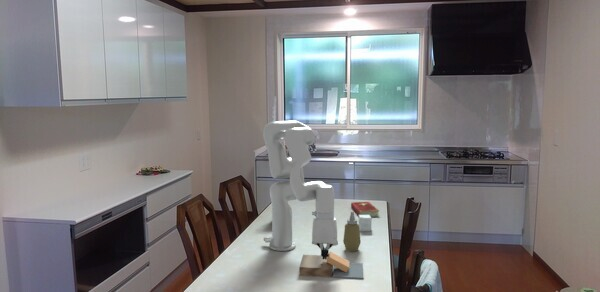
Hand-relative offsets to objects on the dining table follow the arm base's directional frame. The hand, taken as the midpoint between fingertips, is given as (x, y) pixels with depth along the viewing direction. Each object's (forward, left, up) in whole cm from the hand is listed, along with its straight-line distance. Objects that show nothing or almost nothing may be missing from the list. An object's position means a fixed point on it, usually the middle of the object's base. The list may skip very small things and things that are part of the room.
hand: (324, 258), depth 169 cm
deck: (-3, 0, -5) cm, 6 cm away
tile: (+5, 0, -3) cm, 6 cm away
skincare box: (+18, +54, -5) cm, 57 cm away
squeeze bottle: (+11, +24, -5) cm, 27 cm away
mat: (+10, 0, -5) cm, 11 cm away
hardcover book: (+19, +88, -6) cm, 90 cm away
